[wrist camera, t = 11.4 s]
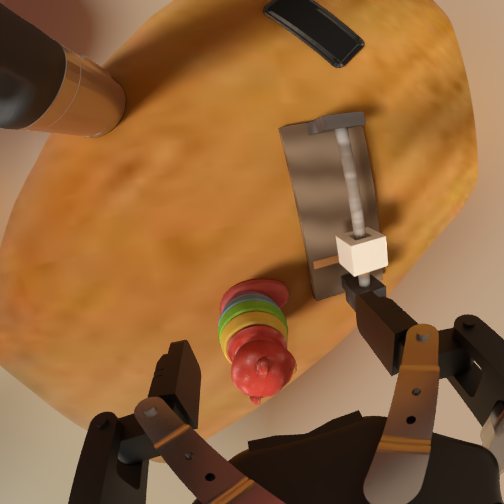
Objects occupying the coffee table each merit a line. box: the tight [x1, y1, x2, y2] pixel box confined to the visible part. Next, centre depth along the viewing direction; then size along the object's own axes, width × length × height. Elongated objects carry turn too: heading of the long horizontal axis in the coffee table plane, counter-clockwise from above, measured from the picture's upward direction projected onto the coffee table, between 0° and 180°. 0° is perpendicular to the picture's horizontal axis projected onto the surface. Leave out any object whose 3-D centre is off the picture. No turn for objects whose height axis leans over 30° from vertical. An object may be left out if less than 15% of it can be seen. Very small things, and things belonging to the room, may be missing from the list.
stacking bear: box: [218, 279, 297, 405], centre depth 35 cm, size 11×10×18 cm
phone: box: [263, 0, 364, 68], centre depth 31 cm, size 8×1×15 cm
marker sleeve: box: [336, 227, 388, 277], centre depth 35 cm, size 4×5×5 cm
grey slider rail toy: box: [279, 111, 386, 312], centre depth 36 cm, size 26×12×9 cm, turn 14°
